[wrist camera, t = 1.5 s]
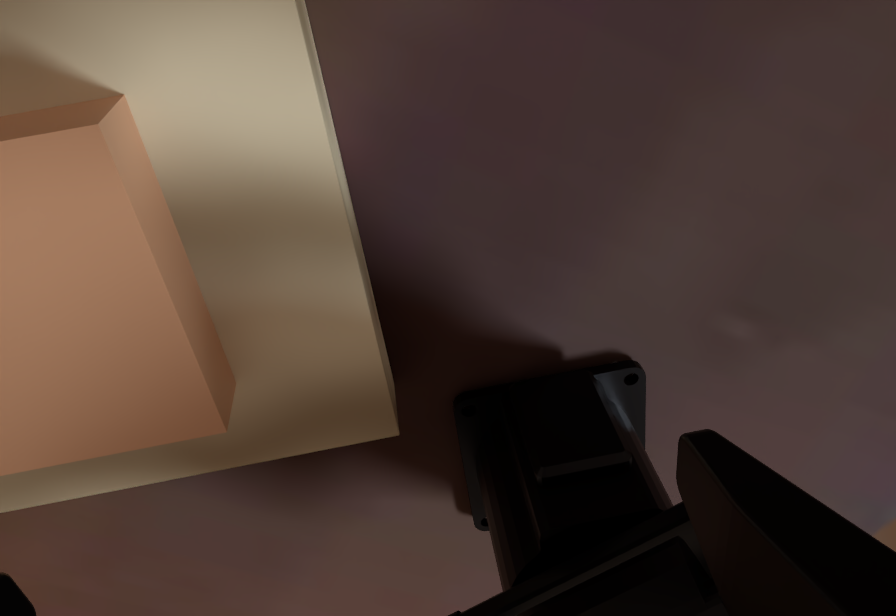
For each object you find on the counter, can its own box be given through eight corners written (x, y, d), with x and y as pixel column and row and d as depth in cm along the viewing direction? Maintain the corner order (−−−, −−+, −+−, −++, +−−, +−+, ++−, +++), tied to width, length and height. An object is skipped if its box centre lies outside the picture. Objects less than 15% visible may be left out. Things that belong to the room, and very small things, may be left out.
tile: (236, 383, 20) (227, 432, 18) (17, 424, 20) (-14, 478, 18) (124, 94, 15) (98, 123, 14) (-159, 145, 15) (-220, 180, 14)
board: (394, 383, 24) (399, 435, 22) (-4, 459, 23) (-38, 520, 21) (280, -103, 16) (271, -97, 14) (-315, -2, 16) (-417, 21, 14)
